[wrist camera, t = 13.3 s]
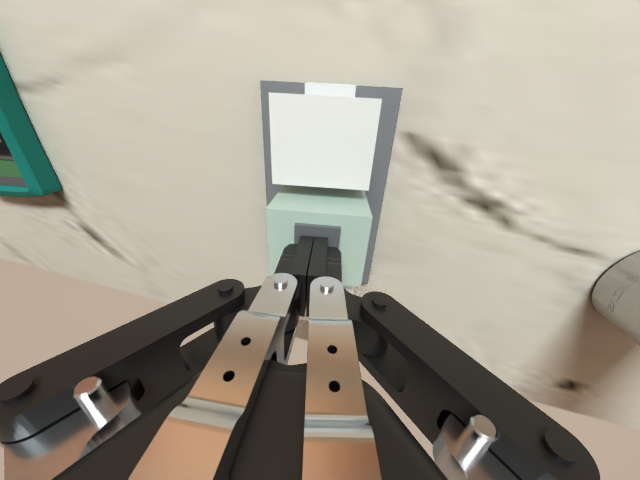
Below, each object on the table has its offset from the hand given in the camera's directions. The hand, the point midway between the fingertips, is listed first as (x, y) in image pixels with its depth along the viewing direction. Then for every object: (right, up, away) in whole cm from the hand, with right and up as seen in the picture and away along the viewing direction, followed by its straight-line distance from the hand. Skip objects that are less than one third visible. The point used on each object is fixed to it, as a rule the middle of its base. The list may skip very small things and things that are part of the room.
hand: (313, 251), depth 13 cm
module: (+1, +4, +7) cm, 8 cm away
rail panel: (+1, +5, +9) cm, 10 cm away
